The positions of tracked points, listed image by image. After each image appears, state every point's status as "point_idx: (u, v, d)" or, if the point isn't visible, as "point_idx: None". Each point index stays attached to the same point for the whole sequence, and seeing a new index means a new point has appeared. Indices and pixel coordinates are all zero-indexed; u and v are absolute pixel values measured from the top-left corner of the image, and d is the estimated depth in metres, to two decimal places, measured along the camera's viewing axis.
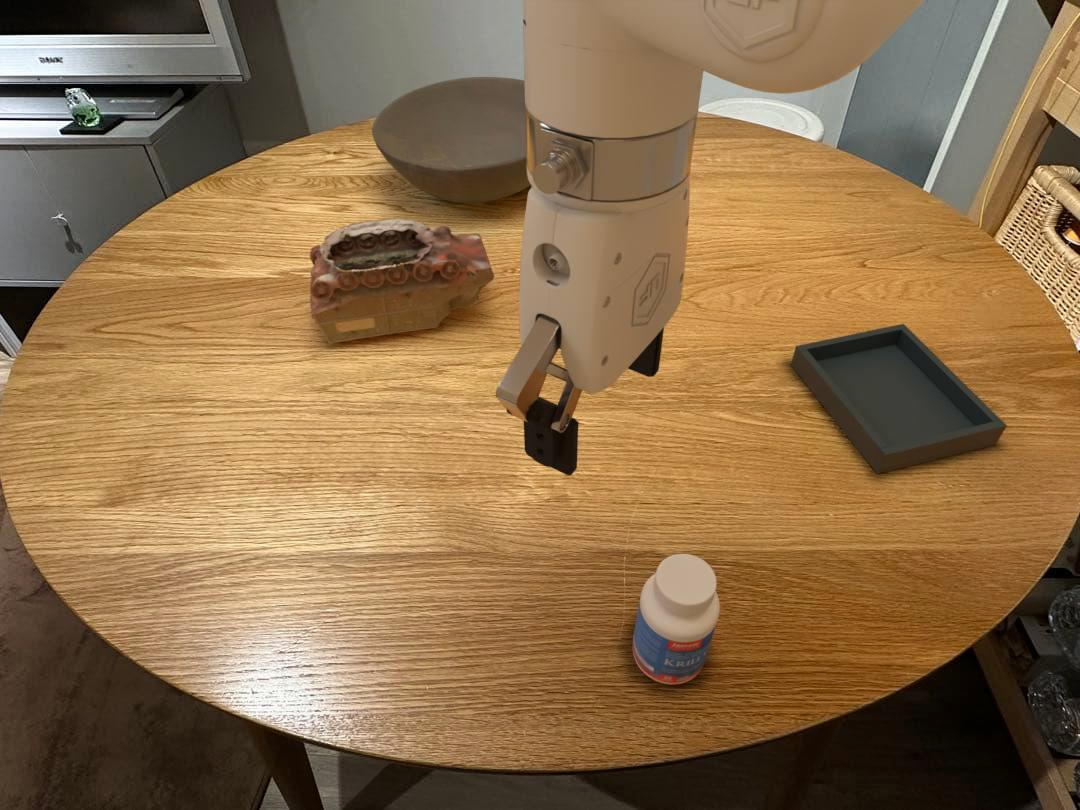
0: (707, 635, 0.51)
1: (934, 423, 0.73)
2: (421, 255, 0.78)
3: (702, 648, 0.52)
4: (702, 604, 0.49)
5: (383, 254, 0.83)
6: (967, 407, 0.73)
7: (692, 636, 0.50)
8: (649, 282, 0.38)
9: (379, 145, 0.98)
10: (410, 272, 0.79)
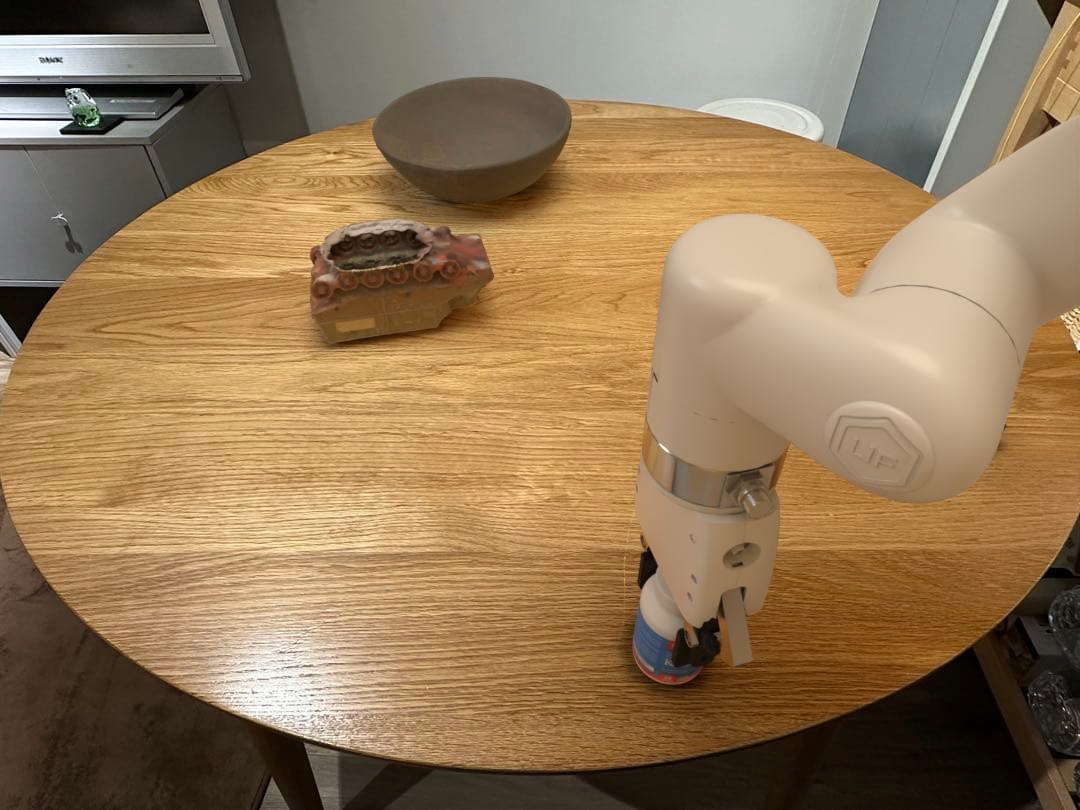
0: None
1: None
2: (421, 255, 0.78)
3: None
4: None
5: (383, 254, 0.83)
6: None
7: None
8: None
9: (379, 145, 0.98)
10: (410, 272, 0.79)
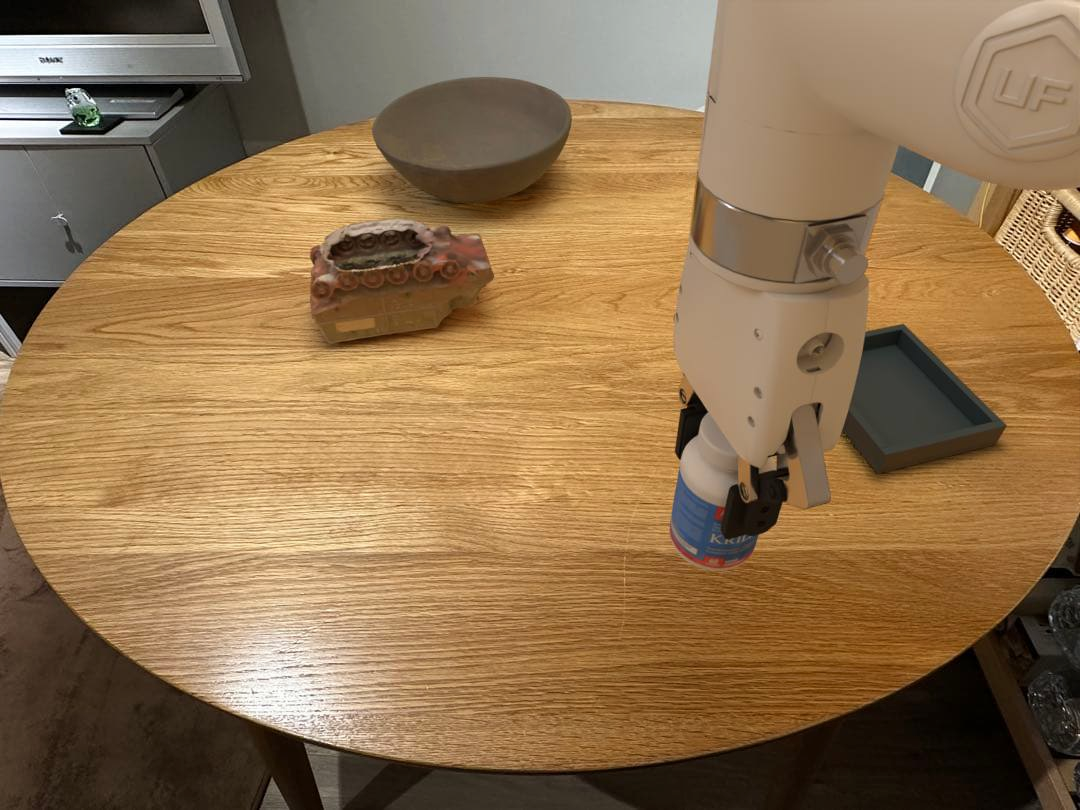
0: None
1: (934, 423, 0.73)
2: (421, 255, 0.78)
3: None
4: None
5: (383, 254, 0.83)
6: (967, 407, 0.73)
7: None
8: None
9: (379, 145, 0.98)
10: (410, 272, 0.79)
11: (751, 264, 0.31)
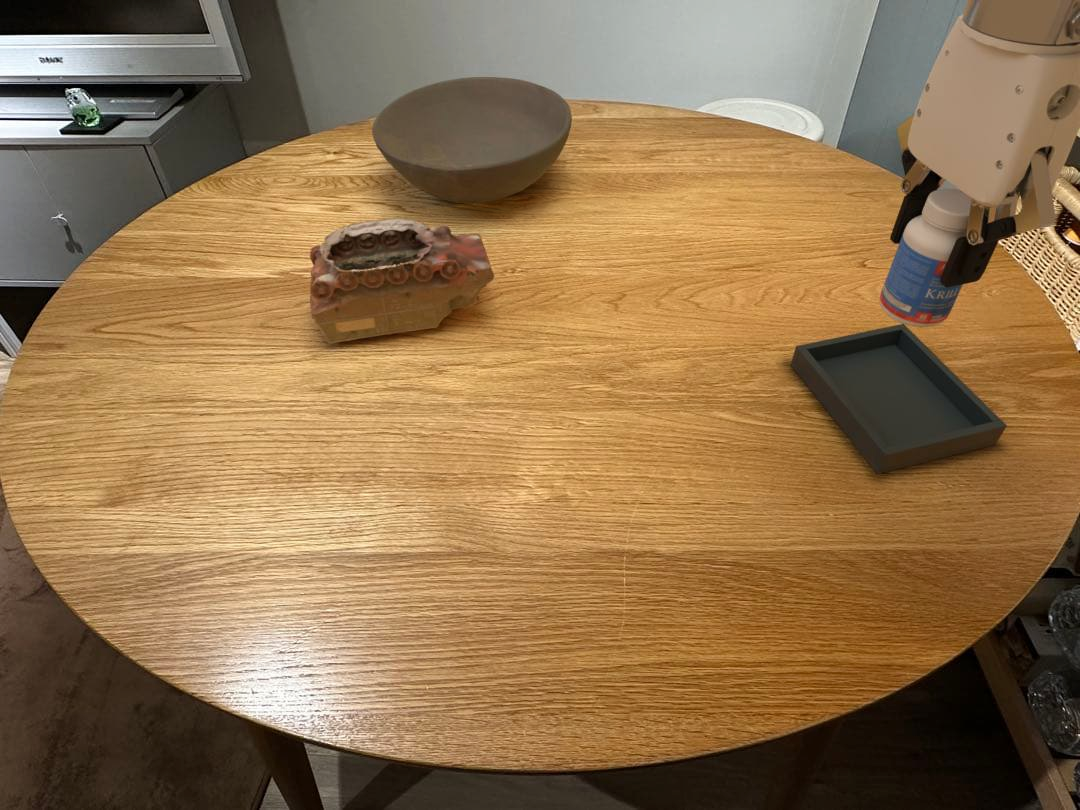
0: None
1: (934, 423, 0.73)
2: (421, 255, 0.78)
3: None
4: None
5: (383, 254, 0.83)
6: (967, 407, 0.73)
7: None
8: None
9: (379, 145, 0.98)
10: (410, 272, 0.79)
11: (1025, 32, 0.45)
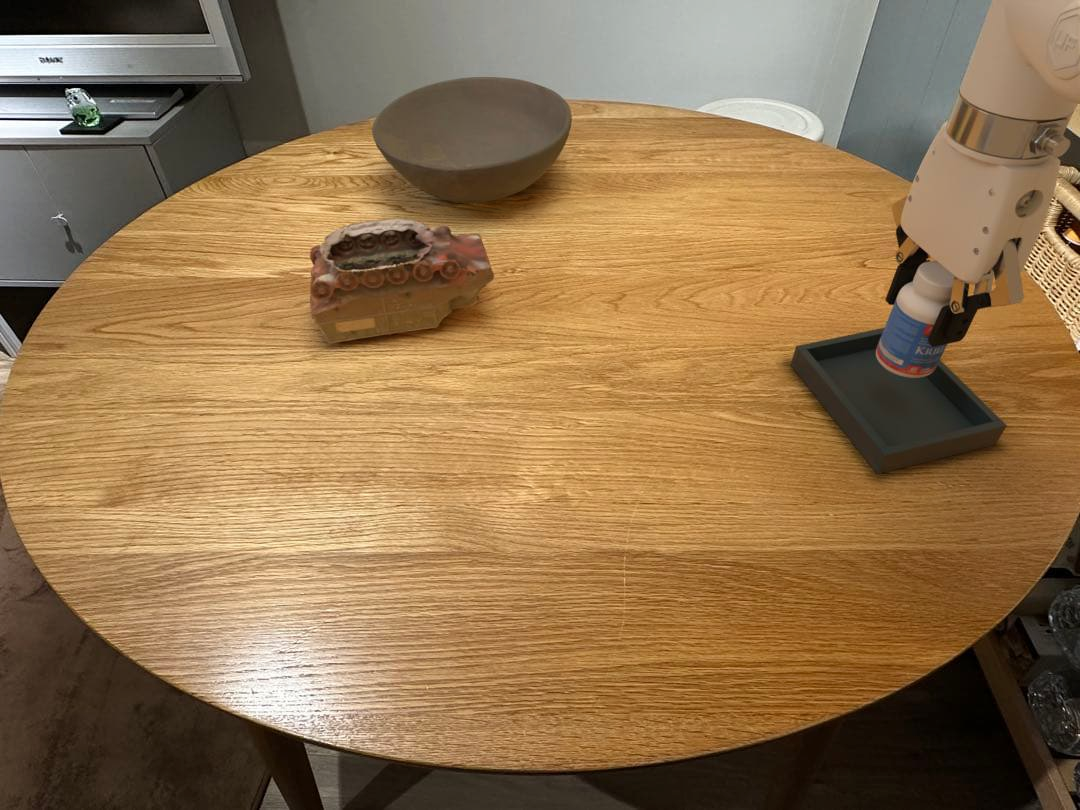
0: None
1: (934, 423, 0.73)
2: (421, 255, 0.78)
3: None
4: None
5: (383, 254, 0.83)
6: (967, 407, 0.73)
7: None
8: None
9: (379, 145, 0.98)
10: (410, 272, 0.79)
11: (996, 148, 0.54)
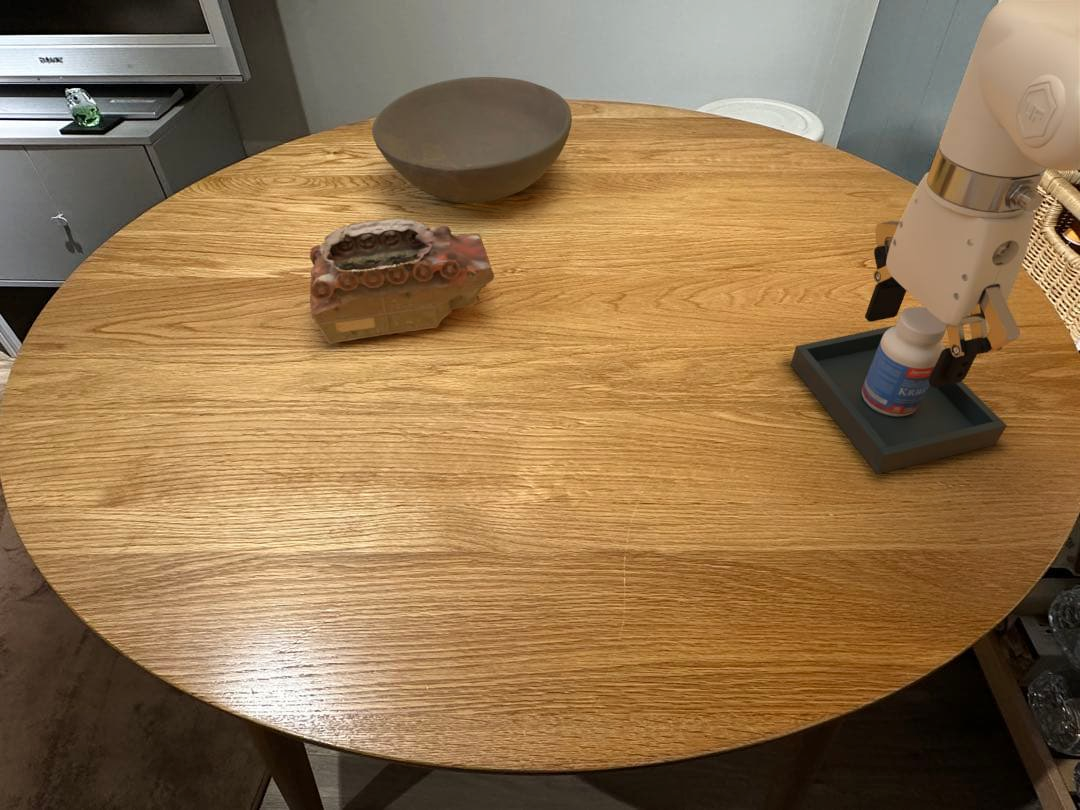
0: None
1: (934, 423, 0.73)
2: (421, 255, 0.78)
3: None
4: (940, 334, 0.68)
5: (383, 254, 0.83)
6: (967, 407, 0.73)
7: (928, 363, 0.69)
8: None
9: (379, 145, 0.98)
10: (410, 272, 0.79)
11: (973, 201, 0.57)
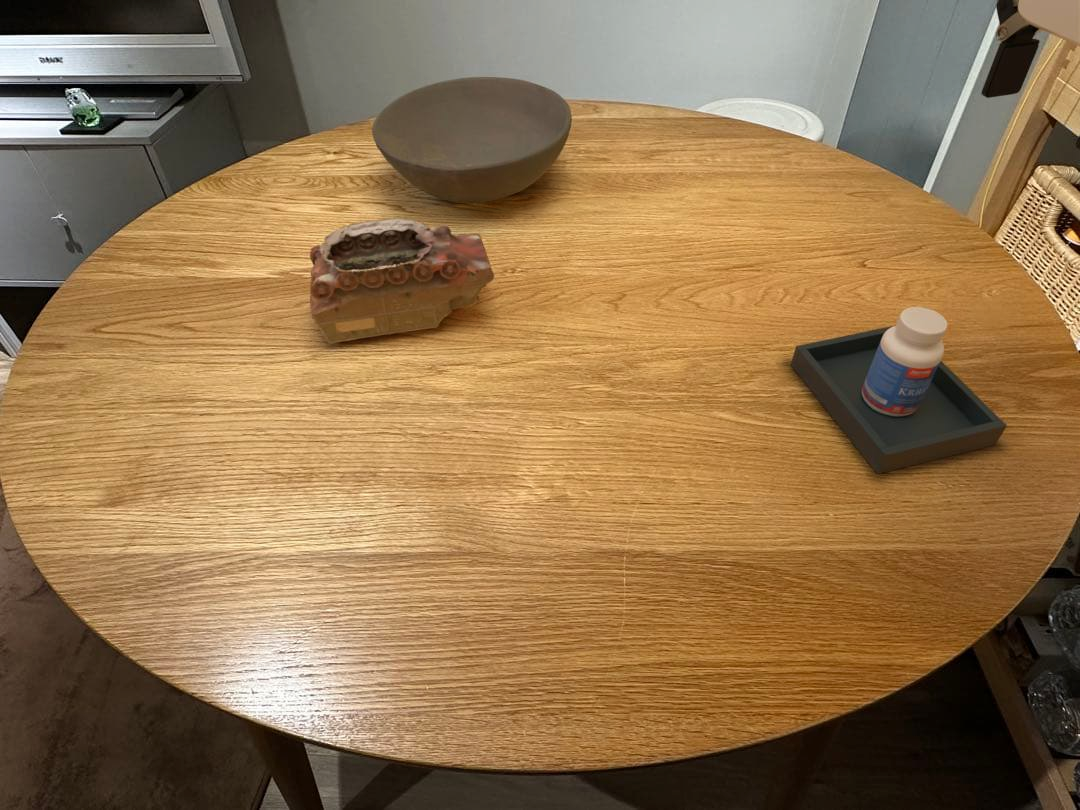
0: (936, 365, 0.69)
1: (934, 423, 0.73)
2: (421, 255, 0.78)
3: (929, 378, 0.71)
4: (939, 334, 0.68)
5: (383, 254, 0.83)
6: (967, 407, 0.73)
7: (928, 363, 0.69)
8: None
9: (379, 145, 0.98)
10: (410, 272, 0.79)
11: None
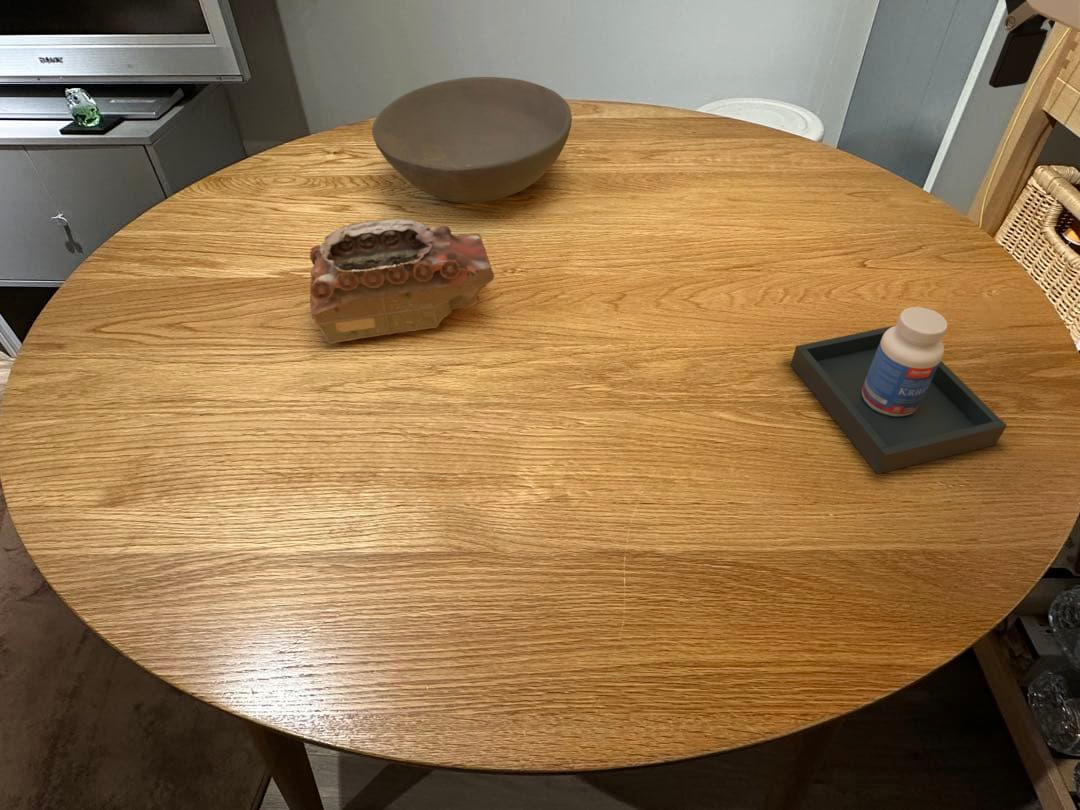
0: (936, 365, 0.69)
1: (934, 423, 0.73)
2: (421, 255, 0.78)
3: (929, 378, 0.71)
4: (939, 334, 0.68)
5: (383, 254, 0.83)
6: (967, 407, 0.73)
7: (928, 362, 0.69)
8: None
9: (379, 145, 0.98)
10: (410, 272, 0.79)
11: None
